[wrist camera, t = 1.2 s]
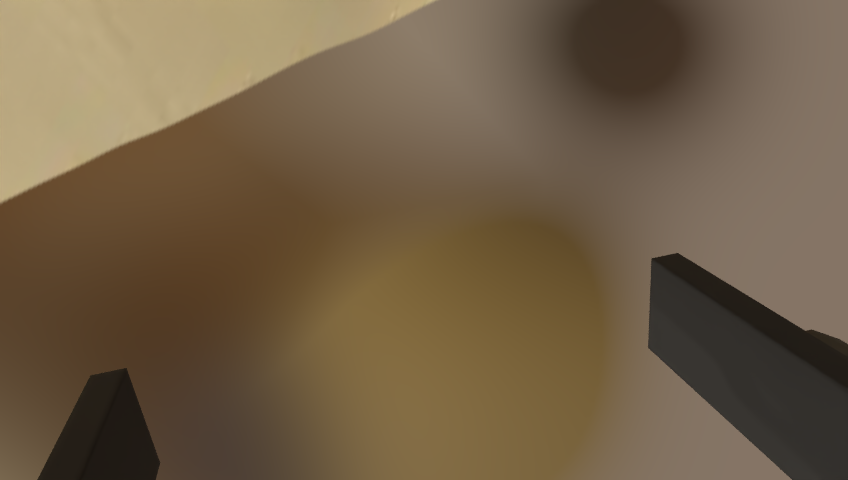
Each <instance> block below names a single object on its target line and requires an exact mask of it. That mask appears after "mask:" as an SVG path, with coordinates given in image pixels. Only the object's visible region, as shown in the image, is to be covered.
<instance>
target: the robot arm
mask: <svg viewBox="0 0 848 480" xmlns="http://www.w3.org/2000/svg"><path fill="white" fill-rule="evenodd" d="M649 315H650V316H649V341H648V348H649V349H650V350H651V351H652V352H653V353H655V354H656V355H657V356H658V357H659V358H660V359H661V360H662V361H663V362H664V363H665V364H666V365H668V366H669V367H670V368H671V369H672V370H673V371H674V372H675V373H676V374H677V375H678V376H680V377H681V378H682V379H683V380H684V381H685V382H686V383H687V384H688V385H690V386H691V387H692V388H693V389H694V390H695V391H696V392H697V393H698V394H699V395H700V396H701V397H703V398H704V399H705V400H706V401H707V402H708V403H709V404H710V405H711V406H712V407H713V408H715V409H716V410H717V411H718V412H719V413H720V414H721V415H722V416H723V417H724V418H725V419H727V420H728V421H729V422H730V423H731V424H732V425H733V426H734V427H735V428H736V429H737V430H739V431H740V432H741V433H742V434H743V435H744V436H745V437H746V438H747V439H749V441H751V442H752V443H753V444H754V445H755V446H756V447H757V448H758V449H759V450H760V451H762V452H763V453H764V454H765V455H766V456H767V457H768V458H769V459H770V460H771V461H773V462H774V463H775V464H776V465H777V466H778V467H779V468H780V469H781V470H782V471H783V472H784V473H786V474H787V475H788V476H789V477H790V478H791V479H792V480H848V344H847V343H845V342H843V341H841V340H840V339H837V338H834V337H831V336H829V335H826V334H823V333H820V332H817V331H814V330H808V331H804V330H803V329H801V328H800V327H798V326H796V325H795V324H793V323H791V322H790V321H788V320H787V319H785V318H783V317H781V316H780V315H778V314H777V313H775V312H773V311H772V310H770V309H769V308H767V307H765V306H764V305H762V304H760V303H759V302H757V301H755V300H754V299H752V298H750V297H749V296H747V295H745V294H744V293H742V292H741V291H739V290H737V289H736V288H734V287H732V286H731V285H729V284H728V283H726V282H724V281H722V280H721V279H719V278H718V277H716V276H715V275H713V274H711V273H710V272H708V271H706V270H705V269H703V268H701V267H700V266H698V265H697V264H695V263H693V262H692V261H690V260H688V259H686V258H685V257H683V256H682V255H680V254H679V253H676V254H671V255H666V256H661V257H657V258H652V261H651V288H650V314H649ZM159 465H160V461H159V459H158V456H157V453H156V450H155V447H154V444H153V442H152V439H151V436H150V433H149V430H148V428H147V425H146V422H145V419H144V416H143V413H142V411H141V408H140V405H139V402H138V400H137V397H136V394H135V391H134V388H133V385H132V383H131V380H130V377H129V374H128V371H127V368H124V369H119V370H115V371H111V372H105V373H101V374H95V375H91V376H90V378H89V380H88V382H87V384H86V386H85V387H84V389H83V391H82V393H81V395H80V397H79V399H78V401H77V403H76V405H75V407H74V409H73V411H72V413H71V415H70V417H69V419H68V421H67V423H66V425H65V427H64V429H63V431H62V433H61V434H60V437H59V438H58V440H57V442H56V444H55V446H54V448H53V450H52V452H51V454H50V456H49V458H48V460H47V462H46V464H45V466H44V468H43V470H42V472H41V474H40V476H39V478H38V480H156V476H157V472H158V469H159Z"/></svg>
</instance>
